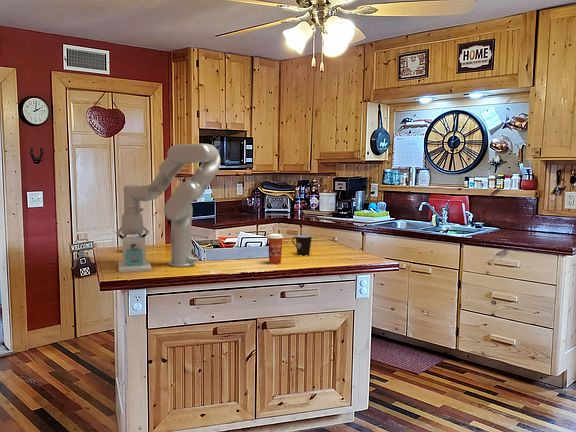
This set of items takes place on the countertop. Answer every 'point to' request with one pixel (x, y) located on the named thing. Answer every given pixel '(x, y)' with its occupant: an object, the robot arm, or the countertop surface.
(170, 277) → the countertop surface
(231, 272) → the countertop surface
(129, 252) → the spacer
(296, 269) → the countertop surface
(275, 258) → the paper cup
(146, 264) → the bracket
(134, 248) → the shaft
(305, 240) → the coffee mug
